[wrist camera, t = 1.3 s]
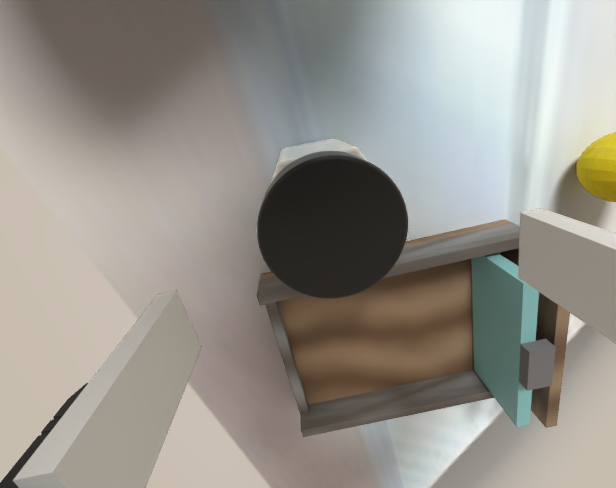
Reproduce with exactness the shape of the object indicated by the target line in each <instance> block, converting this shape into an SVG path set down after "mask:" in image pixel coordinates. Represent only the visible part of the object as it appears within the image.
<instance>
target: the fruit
mask: <svg viewBox="0 0 616 488" xmlns="http://www.w3.org/2000/svg"><path fill="white" fill-rule="evenodd" d="M576 168H577V169H576V174H577V178H578V180H579V182H580V183H581V184H582V186H583V187H584V188H585V189H586V190H587V191H588V192H589V193H590V194H592V195H593V196H596V197H598V198H601V199H604V200H607V201H611V202H616V132H615V133H612V134H609V135H606V136H604V137H602V138H600V139H598V140H597V141H595V142H594V143H592V144H591V145H590V146H589V147H587V148H586V150H585V151H584V152H583V153H582V155H581V156H580V158H579V159H578V161H577V164H576Z"/></svg>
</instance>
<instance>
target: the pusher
mask: <svg viewBox="0 0 616 488" xmlns="http://www.w3.org/2000/svg"><path fill="white" fill-rule="evenodd" d="M471 263H472V306H473V349H474V370H475V372H476V373H477V374H478V376H479V377H480V378H481V380H482V381H483V382H484V384H485V385H486V386H487V388H488V389H489V391H490V392H491V393H492V395H493V396H494V397H495V399H496V400H497V401H498V403H499V404H500V405H501V407H502V408H503V409H504V411H505V412H506V413H507V415H508V416H509V417H510V419H511V420H512V422H513V423H514V424H515V425H516V427H519V426H523V425H528V424H530V413H531V399H532V390H534V389H539V388H543V387H548V386H552V379H553V369H554V359H555V349H556V347H555V346H554V345H553V344H551V343H550V342H549V341H548V340H547V339H542V340H537V341H536V328H537V314H538V300H539V291H537V290H536V289H534V288H533V287H531V286H530V285H528V284H527V283H525V282H524V281H522V280H521V279H519V278H518V266H517V265H516V264H514V263H513V262H511V261H509V260H508V259H506V258H505V257H503V256H501V255H500V254H498V253H494V254H490V255H485V256H481V257H476V258H472V259H471Z"/></svg>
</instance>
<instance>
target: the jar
mask: <svg viewBox="0 0 616 488" xmlns="http://www.w3.org/2000/svg"><path fill="white" fill-rule="evenodd" d="M407 231H408V216H407V210H406V205H405V202H404V199H403V197H402V195H401V193H400V191H399V189H398V187H397V186H396V184H395V183H394V182H393V180H392V179H391V178H390V177H389V176H388V175H387V174H386V173H385V172H383V171H382V170H381V169H380V168H378V167H377V166H375V165H373V164H372V163H370V162H368V161H367V159H366V158H365V157H364V155H363V154H362V153H361V151H360V150H359V148H357V147H355V146H353V145H350V144H348V143H345V142H342V141H340V140H337V139H334V138H333V139H328V140H323V141H317V142H312V143H307V144H301V145H296V146H291V147H286V148H282V149H281V152H280V155H279V158H278V161H277V165H276V168H275V171H274V174H273V177H272V180H271V183H270V186H269V188H268V190H267V192H266V194H265V197H264V199H263V202H262V205H261V209H260V212H259V216H258V223H257V228H256V233H257V237H258V244H259V248H260V251H261V254H262V256H263V259H264V261H265V262H266V264H267V266H268V267H269V269H270V270H271V272H272V273H273V274H274V275H275V276H276V277H277V278H278V279H279V280H280V281H281V282H282V283H284V284H285V285H286V286H288V287H289V288H291V289H293V290H295V291H297V292H299V293H301V294H304V295H307V296H311V297H316V298H324V299H333V298H342V297H347V296H351V295H354V294H357V293H360V292H362V291H364V290H366V289H368V288H370V287H371V286H373V285H375V284H376V283H377V282H379V281H380V280H381V279H382V278H383V277H384V276H386V274H387V273H388V272H389V271H390V270H391V269H392V268H393V266H394V265H395V263H396V262H397V260H398V259H399V257H400V255H401V253H402V250H403V248H404V245H405V242H406V237H407Z"/></svg>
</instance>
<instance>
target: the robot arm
mask: <svg viewBox="0 0 616 488" xmlns="http://www.w3.org/2000/svg"><path fill="white" fill-rule="evenodd" d="M518 278H519V279H521V280H522V281H524V282H525V283H527V284H528V285H530V286H531V287H533V288H534V289H536V290H537V291H539V292H540V293H542V294H543V295H544V296H546V297H547V298H549V299H550V300H552V301H553V302H555V303H556V304H558V305H559V306H561V307H562V308H564V309H565V310H567V311H568V312H570V313H571V314H573V315H574V316H576V317H577V318H579V319H580V320H582V321H583V322H584V323H586V324H587V325H589V326H590V327H592V328H593V329H595V330H596V331H598V332H599V333H601V334H602V335H604V336H605V337H607V338H608V339H610V340H611V341H613V342H614V343H616V233H614V232H611V231H608V230H605V229H602V228H599V227H596V226H593V225H590V224H587V223H584V222H581V221H578V220H575V219H572V218H569V217H566V216H563V215H560V214H557V213H554V212H551V211H548V210H545V209H542V208H539V209H535V210H530V211H526V212H521V213H520V237H519V266H518ZM200 350H201V344H200V342H199V340H198V337H197V335H196V333H195V330H194V328H193V326H192V324H191V321H190V319H189V317H188V314H187V312H186V310H185V307H184V305H183V303H182V300H181V298H180V296H179V294H178V291H177V290H174V291H170V292H165V293H161V294H157V296H156V297H155V298H154V300H153V301H152V302H151V303H150V305H149V306H148V307H147V309H146V310H145V311H144V312H143V314H142V315H141V316H140V317H139V319H138V320H137V321H136V323H135V324H134V325H133V326H132V328H131V329H130V330H129V332H128V333H127V334H126V335H125V337H124V338H123V339H122V341H121V342H120V343H119V344H118V346H117V347H116V348H115V350H114V351H113V352H112V354H111V355H110V356H109V357H108V359H107V360H106V361H105V362H104V364H103V365H102V366H101V368H100V369H99V370H98V372H97V373H96V374H95V375H94V377H93V378H92V379H91V380H90V382H89V383H86V384H85V385H84V386H83V387H82V388H81V389H79V390H78V391H77V392H76V393H75V394H74V395H72V396H71V397H70V398H69V399H68V400H67V401H66V402H65V404H64V405H63V406H62V407H61V408H60V410H59V411H58V412H57V413H56V415H55V416H54V420H52V421H50V422H49V423H48V424H47V426H46V427H45V428H44V429H43V431H42V432H41V433H42V434H41V436H38V437H37V438H36V440H35V441H34V442H33V443H32V444H31V446H30V447H29V448H28V449H27V450H26V452H25V453H24V454H23V455H22V457H21V458H20V459H19V460H18V462H17V463H16V464H15V465H14V467H13V468H12V469H11V470H10V471H9V473H8V474H7V475H6V476H5V478H4V479H3V480H2V482H1V483H0V488H146V486H147V483H148V480H149V478H150V475H151V473H152V470H153V468H154V465H155V463H156V460H157V458H158V455H159V453H160V450H161V448H162V445H163V443H164V440H165V437H166V435H167V433H168V430H169V428H170V425H171V423H172V420H173V418H174V415H175V412H176V410H177V408H178V405H179V402H180V400H181V398H182V395H183V392H184V390H185V387H186V385H187V382H188V380H189V377H190V375H191V372H192V370H193V367H194V365H195V362H196V360H197V357H198V355H199V352H200Z"/></svg>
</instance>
